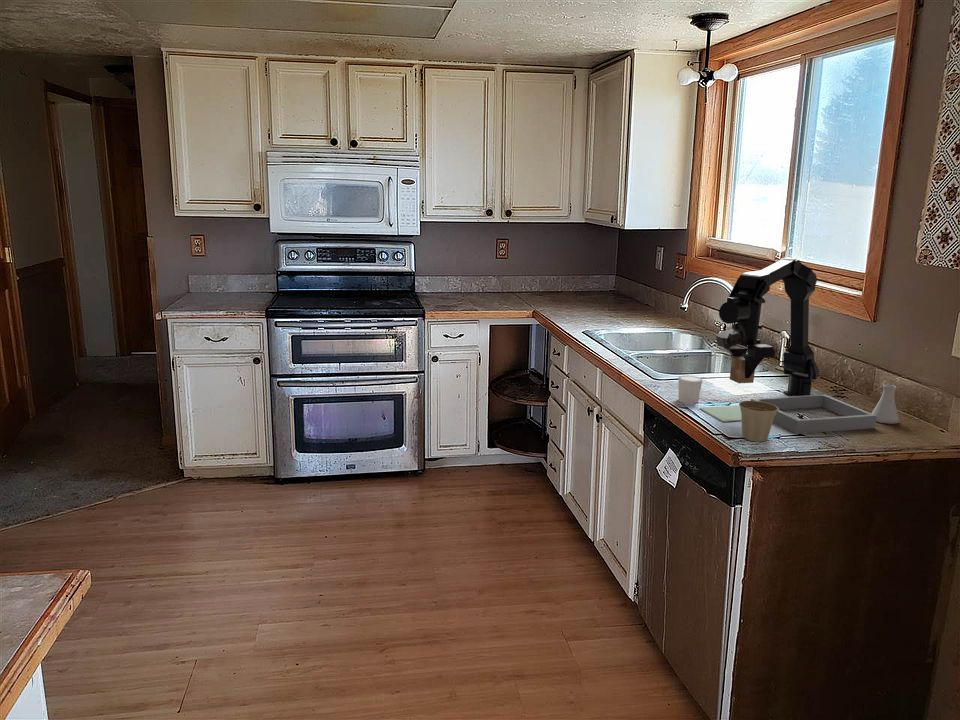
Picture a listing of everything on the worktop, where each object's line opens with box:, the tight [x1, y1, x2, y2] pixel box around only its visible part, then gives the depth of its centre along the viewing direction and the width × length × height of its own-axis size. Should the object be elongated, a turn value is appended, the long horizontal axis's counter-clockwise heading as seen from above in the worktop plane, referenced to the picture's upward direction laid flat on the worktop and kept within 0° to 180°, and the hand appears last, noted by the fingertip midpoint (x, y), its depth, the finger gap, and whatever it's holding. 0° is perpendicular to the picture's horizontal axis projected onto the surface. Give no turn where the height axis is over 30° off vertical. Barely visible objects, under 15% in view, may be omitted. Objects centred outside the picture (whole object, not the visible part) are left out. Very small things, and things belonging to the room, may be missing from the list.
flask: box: [871, 384, 900, 425], centre depth 204 cm, size 7×7×10 cm
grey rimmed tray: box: [750, 393, 877, 435], centre depth 204 cm, size 20×24×4 cm
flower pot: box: [738, 400, 779, 443], centre depth 187 cm, size 9×9×9 cm
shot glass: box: [677, 375, 703, 405], centre depth 218 cm, size 7×7×7 cm
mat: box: [699, 405, 742, 423], centre depth 207 cm, size 12×12×1 cm
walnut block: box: [729, 356, 756, 384], centre depth 203 cm, size 4×4×6 cm
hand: (741, 375), depth 204 cm, fingers closed on walnut block, 4 cm apart
